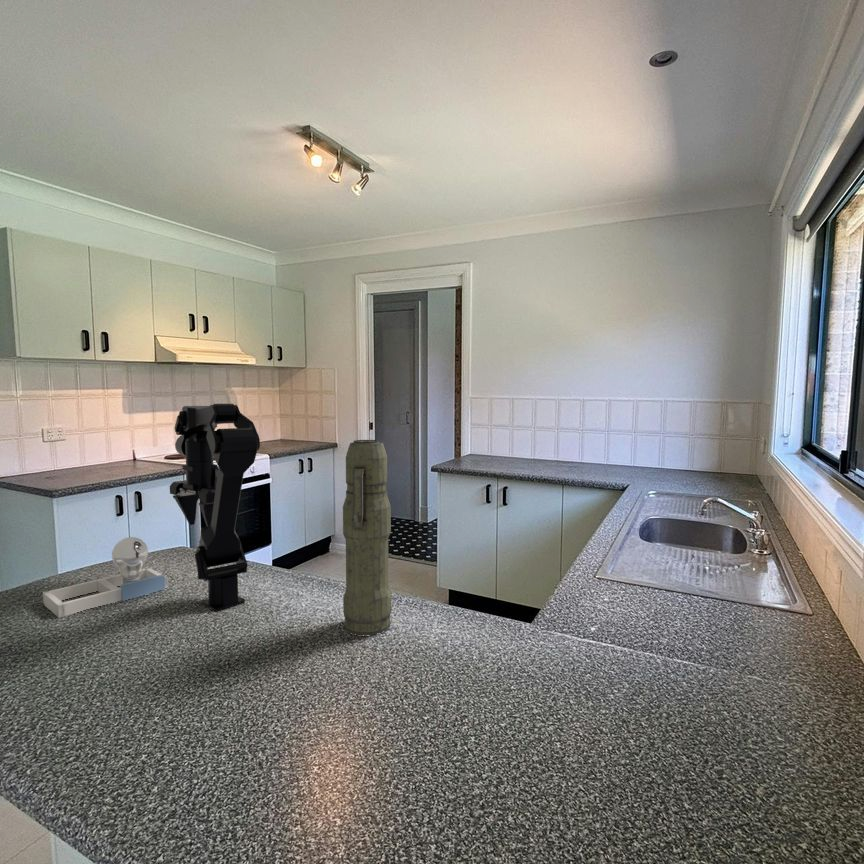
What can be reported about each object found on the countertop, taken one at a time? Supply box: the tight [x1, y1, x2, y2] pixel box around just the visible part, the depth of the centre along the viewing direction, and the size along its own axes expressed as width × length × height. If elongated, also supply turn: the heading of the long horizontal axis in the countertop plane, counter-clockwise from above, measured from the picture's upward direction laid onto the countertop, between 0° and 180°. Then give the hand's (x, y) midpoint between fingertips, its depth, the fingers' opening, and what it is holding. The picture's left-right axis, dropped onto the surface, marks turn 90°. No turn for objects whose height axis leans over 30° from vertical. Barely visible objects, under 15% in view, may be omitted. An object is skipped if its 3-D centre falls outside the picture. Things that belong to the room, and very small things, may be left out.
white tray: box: [42, 567, 169, 619], centre depth 111 cm, size 11×21×4 cm, turn 140°
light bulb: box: [111, 536, 149, 584], centre depth 114 cm, size 7×7×12 cm
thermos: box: [342, 439, 392, 636], centre depth 96 cm, size 9×12×35 cm
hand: (201, 527), depth 119 cm, fingers open, 9 cm apart
